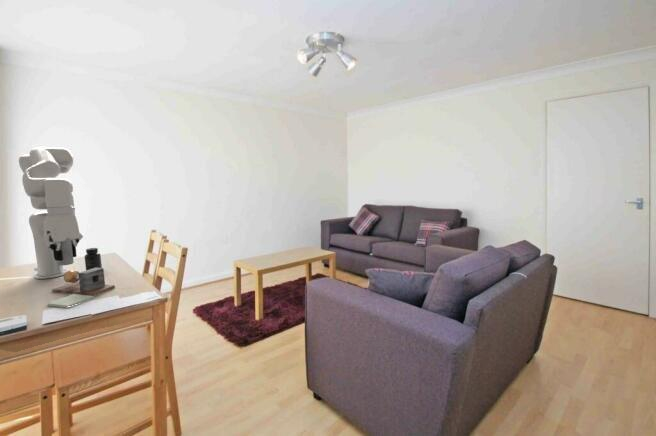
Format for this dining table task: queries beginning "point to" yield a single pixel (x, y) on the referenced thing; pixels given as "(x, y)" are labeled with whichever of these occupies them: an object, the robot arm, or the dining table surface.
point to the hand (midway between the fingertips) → (65, 258)
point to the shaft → (71, 276)
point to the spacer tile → (70, 300)
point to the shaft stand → (87, 284)
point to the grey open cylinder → (66, 252)
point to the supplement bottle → (92, 259)
